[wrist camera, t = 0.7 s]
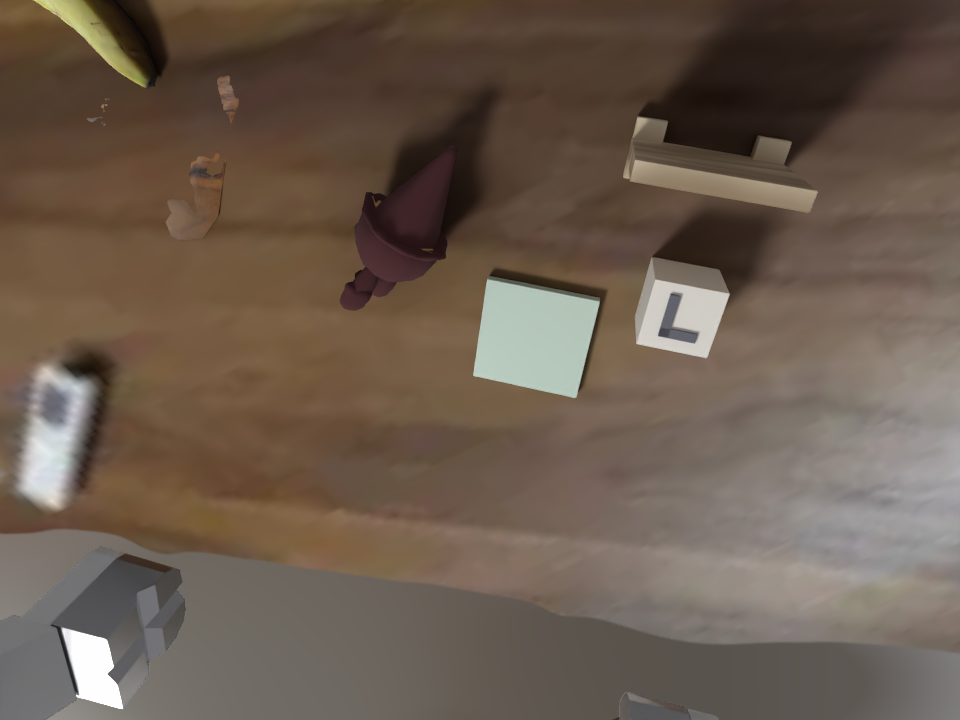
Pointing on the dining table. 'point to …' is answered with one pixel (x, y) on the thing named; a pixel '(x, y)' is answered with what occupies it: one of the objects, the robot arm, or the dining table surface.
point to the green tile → (534, 336)
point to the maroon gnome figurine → (401, 232)
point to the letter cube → (680, 307)
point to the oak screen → (717, 169)
